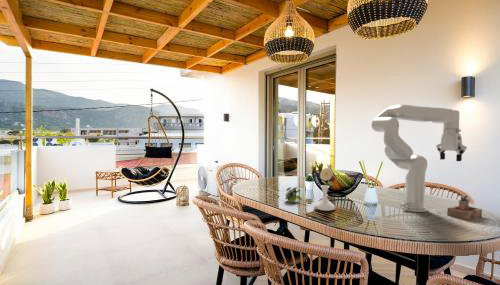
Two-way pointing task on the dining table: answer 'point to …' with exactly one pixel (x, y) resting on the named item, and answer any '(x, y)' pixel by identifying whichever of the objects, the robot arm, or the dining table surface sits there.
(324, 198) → the flower in vase
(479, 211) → the lighter dock
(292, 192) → the green leafy plant
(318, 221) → the dining table surface
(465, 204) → the lighter
